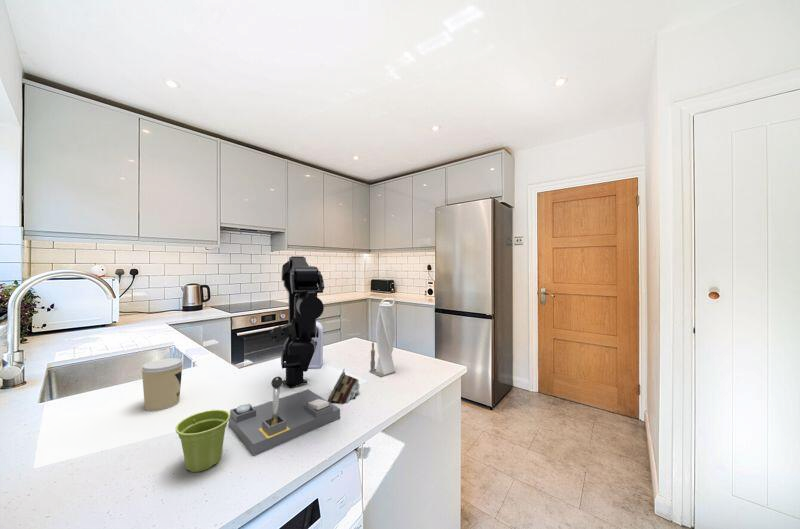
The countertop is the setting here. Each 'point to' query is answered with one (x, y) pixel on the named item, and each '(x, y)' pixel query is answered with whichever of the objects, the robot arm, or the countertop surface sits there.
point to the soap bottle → (318, 349)
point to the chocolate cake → (344, 389)
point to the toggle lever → (276, 399)
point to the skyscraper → (384, 340)
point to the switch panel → (280, 421)
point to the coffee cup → (162, 383)
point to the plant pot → (203, 438)
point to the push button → (243, 409)
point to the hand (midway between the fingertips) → (304, 371)
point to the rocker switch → (318, 404)
